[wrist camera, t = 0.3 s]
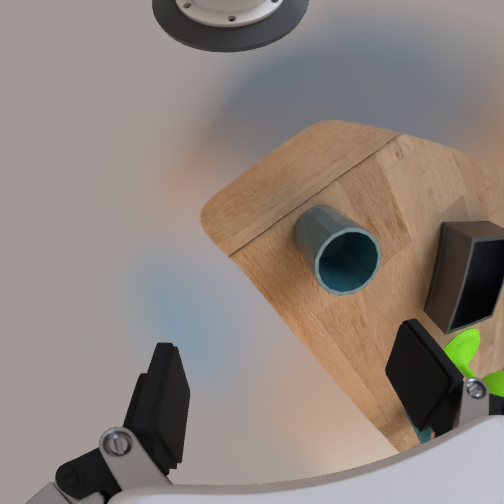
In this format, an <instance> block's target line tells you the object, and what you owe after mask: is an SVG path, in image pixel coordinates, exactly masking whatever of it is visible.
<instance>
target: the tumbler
mask: <svg viewBox="0 0 504 504" xmlns="http://www.w3.org/2000/svg"><path fill="white" fill-rule="evenodd" d="M295 241H296V244H297V246H298V248H299V250H300V252H301V254H302V255H303V257H304V259H305V261H306V262H307V264H308V266H309V268H310V269H311V271H312V273H313V275H314V276H315V278H316V280H317V282H318V283H319V285H320V286H321V287H322V288H324V289H325V290H326V291H327V292H328V293H332V294H336V295H340V296H341V295H348V294H353V293H355V292H357V291H359V290H361V289H363V288H365V287H366V286H367V285H368V284H369V283H370V282H371V281H372V280H373V278H374V277H375V275H376V273H377V271H378V269H379V266H380V260H381V250H380V247H379V243H378V241H377V240H376V238H375V237H374V236H373V235H372V234H371V232H369V231H368V230H366V229H365V228H364V227H362V226H361V225H359V224H358V223H356V222H355V221H353V220H352V219H351V218H349V217H348V216H346V215H345V214H343V213H342V212H340V211H339V210H337V209H335V208H333V207H330V206H323V205H322V206H316V207H313V208H311V209H309V210H307V211H306V212H305V213H304V214H303V215H302V216H301V217H300V218H299V220H298V222H297V224H296V227H295Z"/></svg>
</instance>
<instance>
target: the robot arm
mask: <svg viewBox="0 0 504 504" xmlns="http://www.w3.org/2000/svg"><path fill="white" fill-rule="evenodd" d="M273 2H274V3H273ZM282 2H283V0H176V3H177V5H178V7H179V8H180V10H181V11H182V12H183V13H184V14H185V15H186V16H187V17H189V18H190V19H192V20H194V21H196V22H199V23H201V24H204V25H209V26H214V27H238V26H245V25H249V24H252V23H256V22H258V21H260V20H263V19H265V18H266V17H268V16H270V15H271V14H273V13H274V12H275V11H276V10H277V9H278V8H279V6H280V5H281V3H282ZM231 20H233V21H232V22H231ZM385 372H386V375H387V377H388V379H389V381H390V382H391V384H392V386H393V388H394V390H395V391H396V393H397V395H398V397H399V399H400V401H401V402H402V404H403V406H404V408H405V410H406V412H407V414H408V416H409V417H410V419H411V421H412V423H413V425H414V427H416V428H418V430H419V432H422V431H425V430H427V429H429V428H430V427H431V429H432V434H431V438H430V441H428V442H426V443H424V444H421V445H419V446H417V447H414V448H412V449H409V450H407V451H404V452H402V453H399V454H397V455H394V456H391V457H388V458H385V459H383V460H379V461H376V462H373V463H370V464H367V465H363V466H360V467H356V468H352V469H349V470H345V471H341V472H336V473H332V474H327V475H322V476H317V477H312V478H306V479H300V480H293V481H285V482H277V483H266V484H251V485H179V484H178V485H174V484H173V483H172V482H171V481H170V480H169V478H168V477H167V475H168V474H169V469H177V463H181V462H182V456H183V446H184V439H185V431H186V422H187V415H188V408H189V400H190V389H189V386H188V382H187V379H186V375H185V372H184V369H183V365H182V361H181V358H180V355H179V350H178V347H177V346H173V344H172V343H157V345H156V348H155V351H154V354H153V357H152V360H151V363H150V366H149V369H148V372H147V373H141V374H140V376H139V378H138V381H137V383H136V386H135V390H134V392H133V395H132V398H131V401H130V405H129V408H128V411H127V414H126V417H125V420H124V424H123V427H114V428H110V429H108V430H107V431H105V432H104V433H103V434H102V435H101V437H100V439H99V447H98V448H96V449H94V450H92V451H91V452H88V453H86V454H84V455H82V456H80V457H78V458H76V459H74V460H72V461H69V462H67V463H65V464H63V465H61V466H60V467H59V468H58V470H57V472H56V477H55V478H56V479H55V480H56V481H55V482H54V483H52V482H49V483H48V484H47V485H46V486H45V487H43V488H42V489H41V490H40V491H39V492H38V493H37V494H36V495H34V496H33V497H32V498H31V499H30V500H29V501H28V502H27V503H26V504H504V397H502V396H498V395H494V394H491V393H489V388H488V386H487V384H486V383H485V382H484V381H483V380H482V379H480V378H477V377H471V378H468V379H467V380H466V381H465V382H464V381H463V378H464V376H463V375H462V373H461V372H460V371H459V369H458V368H457V367H456V366H455V364H454V363H453V362H452V361H451V359H450V358H449V357H448V356H447V354H446V353H445V352H444V351H443V349H442V348H441V347H440V346H439V345H438V343H437V342H436V341H435V340H434V339H433V337H432V336H431V335H430V334H429V333H428V332H427V330H426V329H425V328H424V327H423V326H422V325H421V324H420V322H419V321H418V320H417V319H410V320H405V321H403V323H402V325H400V327H399V330H398V333H397V336H396V339H395V342H394V345H393V348H392V351H391V354H390V357H389V360H388V362H387V365H386V368H385Z"/></svg>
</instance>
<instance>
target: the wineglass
mask: <svg viewBox="0 0 504 504" xmlns="http://www.w3.org/2000/svg"><path fill="white" fill-rule="evenodd" d="M479 342H480V335H479V332H478V330H477V329H474V328H472V329H468V330H466V331H464V332H462V333H460V334H459V335H458V336H456V337H455V338H454V339H453V340H452V341H451V342H450V343H448V344H447V345H446V347H445V348H444V349H443V351H444V352H445V353H446V354H447V356H448V357H449V358H450V359H451V361H452V362H453V363H454V364H455V366H456V367H457V368H458V369H459V371H460V372H461V371H462V373H463V374H464V375H465V377H466V378H467V379H468V378H471V377H476V375H475V374H474V373H473V372H472V370H471V369H470V368H469V367H468V365H467V364H468V363H469V362H470V361H471V359H472V358H473V356H474V355H475V353H476V351H477V348H478V346H479ZM482 380H483V381H484V382H485V383H486V384H487V386H488V388H489V393H491V394H494V395H498V396H502V397H504V371H497V372H494V373H491V374H488V375H487V376H485V377H484V378H483V379H482Z"/></svg>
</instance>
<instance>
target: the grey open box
mask: <svg viewBox="0 0 504 504" xmlns="http://www.w3.org/2000/svg"><path fill="white" fill-rule="evenodd" d="M503 284H504V228H502V227H500V226H498V225H496V224H494V223H491V222H489V221H479V222H442V226H441V233H440V239H439V245H438V251H437V256H436V261H435V266H434V271H433V276H432V280H431V284H430V288H429V292H428V296H427V300H426V303H425V307H424V310H423V311H424V312H425V313H426V314H427V315H428V316H429V317H430V318H431V320H432V321H433V322H434V323H435V324H436V325H437V326H438V327H439V328H440V329H441V330H442V332H443V333H444V334H445V335H446V334H449V333H452V332H455V331H458V330H460V329H463V328H466V327H468V326H471V325H474V324H476V323H479V322H481V321H484V320H486V319H488V318H491V317H492V316H493V313H494V311H495V308H496V305H497V302H498V300H499V297H500V294H501V291H502V288H503Z"/></svg>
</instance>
